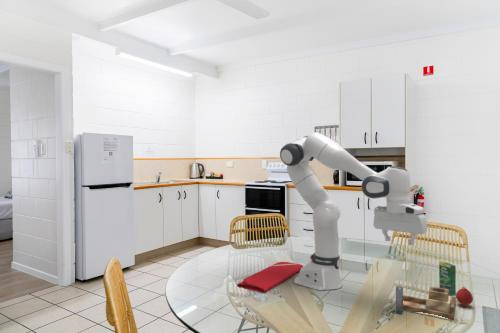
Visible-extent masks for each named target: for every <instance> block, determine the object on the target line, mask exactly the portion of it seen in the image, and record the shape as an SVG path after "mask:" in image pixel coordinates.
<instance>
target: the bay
mask: <svg viewBox="0 0 500 333" xmlns="http://www.w3.org/2000/svg"><path fill="white" fill-rule="evenodd" d="M456 302H457V298H456V296H451V306H450V314H449V313H444V312H439V311H434V310H429V309H426V308H423V307H420V305H424V306H426V298H421V297H416V296H411V295H405V294H403V312H408V311H411V312H410V313H413V312H423V313H428V314H434V315H438V316H442V317H445V318H448V319H450V320H449V321H451V320H454V321H455V318H456V311H457V308H456V307H457V305H456V304H457V303H456ZM454 317H455V318H454Z"/></svg>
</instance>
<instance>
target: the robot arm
mask: <svg viewBox="0 0 500 333" xmlns="http://www.w3.org/2000/svg"><path fill="white" fill-rule="evenodd" d="M279 157H280V160H281V161H282V163H283V164H284V165H286V171H287V174H288V176H289V178H290V181H291V182H292V184H293V186H294V187H295V188H296V190H297V192H298V193H299V195H300V197H301V198H302V199H303V201H304V202H305V203H307V205H308V206H309V207H310V208H311V210H313V212H312V222H313V223H312V224H313V233H314V252H313V254H311V255H310V257H309V259H310V262H308V263H306V264H305V265H303V267H302V268H301V270H300V271H298V272H299V273H298V276H296V277H295V278H294V280H293V283H294V284H295V285H300V286H302V287H303V286H304V287H306V288H310V289H313V290H316V291H325V290H337V289H340V288H342V287H343V284H342V279H341V274H340V267H341V259H340V257H341V256H340V251H339V250H340V249H339V247H340V244H339V242H340V239H339V229H338V220H339V219H340V217H341V209H340V207H339V205H338V204H337V202H336V201H335V200H334V199H333V197H332V196H331V195H330V194H329V193H328V192H327V190H326V189H325V188H324V187H323V185H322V183H321V182H320V181H319V179H318V178H317V176H316V175H315V173H314V172H313V170H312V169H311V167H310V165H309V163H310V162H312V161H314V159H315V160H316V161H318V162H319V163H321V165H324V166H325V167H327V168H330V169H332V170H337V171H344V172H347V173H349V174H352V175H354V176H355V177H356V178H358V179H359V180H361V182H362V183H361V192H362V193H363V195H365V196H366V197H367V198H370V199H376V200H377V199H381V198H386V206H381V205H377V206H376V207H375V208H374V210H373V214H374V215H373V227H374V229H377V230H381V232H382V235H383V236H384V241H385V242H391V236H390V235H389V234H388V232H389V231H391V232H392V231H393V232H400V233H408V234H410V236H411V238H410V239H408V240H407V241H408V243H407V244H408V245H412V246H413V245H414V244H415V239H416V238H417V236H418V235H423V234H426V233H427V231H428V224H427V218H426V216H425V214H424V213H425V208H424V207H422V206H419V205H417V204H414V203H411V202H412V201H411V196H410V192H411V177H410V173H409V171H408V170H407V168H404V167H400V166H395V165H394V166H388V167H386V169H383V170H382V171H379V172H377V171H375V170H374V169H372V168H370V167H369V166H367V165H366V164H364V163H363V162H361V161H360V160H358V159H357V158H355V156H353V155H352V154H350V153H349V151H347V150H346V149H345V148H343V147H342V146H341V145H340V144H339V143H337V142H336V141H335V140H332V138H329V137H327V136H326V135H325V134H322V133H320V132H312V133H310V134H309V135H306V136H303V137H300V138H296V139H295V140H292V141H291V142H289V143H286V144H285V145H283V146H282V147H281V149H280V151H279Z"/></svg>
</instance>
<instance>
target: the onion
mask: <svg viewBox="0 0 500 333" xmlns="http://www.w3.org/2000/svg"><path fill="white" fill-rule="evenodd" d="M455 297H456V302H458V303H459V304H460V305H461V306H462V307H468V306H469V305H471V304H472V303H473V302H474V301H473V300H474V296H473V294H472V293H471V291H470V290H469V289H467V288H466V286H463V285H462V287H461V288H460V289H458V290H457V291H456V295H455Z"/></svg>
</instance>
